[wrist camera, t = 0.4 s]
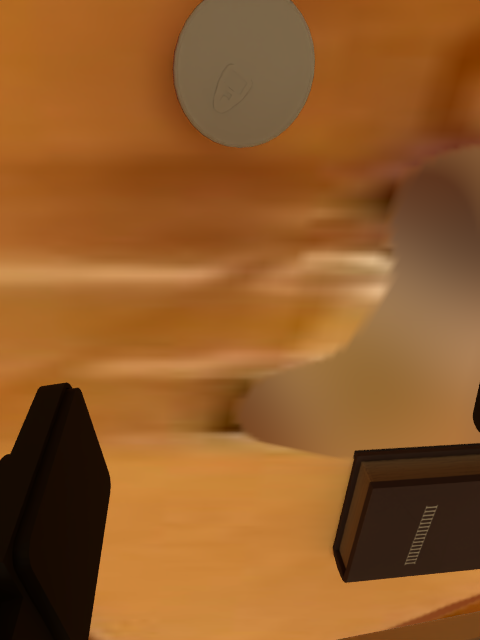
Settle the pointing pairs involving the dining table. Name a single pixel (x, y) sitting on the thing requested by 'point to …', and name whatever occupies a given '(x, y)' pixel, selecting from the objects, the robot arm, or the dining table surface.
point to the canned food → (243, 69)
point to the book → (410, 513)
